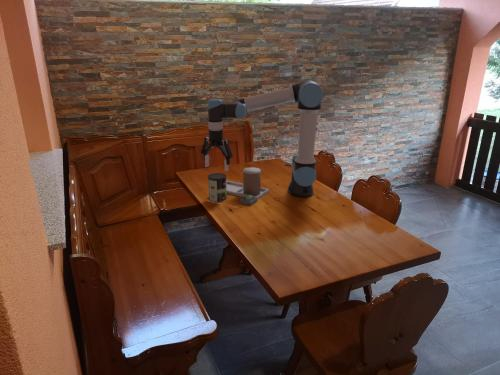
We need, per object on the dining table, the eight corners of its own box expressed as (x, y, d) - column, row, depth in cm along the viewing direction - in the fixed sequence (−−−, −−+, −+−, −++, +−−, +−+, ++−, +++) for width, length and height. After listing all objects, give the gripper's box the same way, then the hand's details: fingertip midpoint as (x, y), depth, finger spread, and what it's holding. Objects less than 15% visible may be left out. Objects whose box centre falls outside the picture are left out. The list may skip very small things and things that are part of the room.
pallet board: (269, 193, 217) (269, 189, 216) (256, 201, 205) (256, 197, 204) (228, 184, 230) (227, 180, 229) (214, 191, 218) (214, 187, 217)
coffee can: (227, 196, 212) (227, 173, 207) (226, 203, 202) (225, 179, 197) (209, 195, 212) (208, 172, 207) (207, 203, 203) (206, 178, 198)
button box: (257, 202, 203) (257, 197, 202) (251, 207, 198) (251, 201, 197) (246, 200, 207) (246, 195, 206) (240, 204, 201) (240, 199, 200)
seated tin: (263, 192, 216) (264, 169, 211) (255, 197, 207) (255, 174, 202) (248, 188, 220) (248, 166, 215) (239, 194, 212) (239, 171, 207)
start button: (253, 200, 202) (253, 195, 201) (250, 202, 199) (250, 197, 198) (247, 199, 204) (247, 194, 203) (243, 201, 201) (243, 196, 200)
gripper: (239, 130, 190) (239, 170, 198) (201, 125, 202) (203, 163, 210) (231, 133, 184) (231, 173, 192) (192, 128, 196) (194, 166, 203)
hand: (216, 168), depth 201 cm, fingers open, 12 cm apart
